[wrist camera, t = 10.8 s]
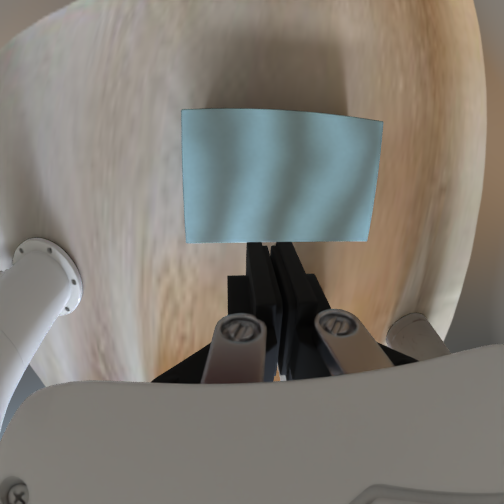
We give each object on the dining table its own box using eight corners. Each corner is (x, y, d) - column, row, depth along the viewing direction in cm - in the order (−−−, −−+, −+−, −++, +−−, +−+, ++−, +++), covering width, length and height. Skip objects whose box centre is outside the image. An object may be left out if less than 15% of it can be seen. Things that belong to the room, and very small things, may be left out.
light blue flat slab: (187, 239, 27) (186, 243, 26) (182, 109, 22) (181, 109, 21) (363, 237, 28) (367, 241, 27) (379, 120, 23) (383, 121, 22)
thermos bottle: (434, 315, 44) (517, 443, 19) (410, 350, 48) (476, 477, 23) (401, 309, 43) (489, 458, 18) (377, 347, 46) (442, 492, 21)
